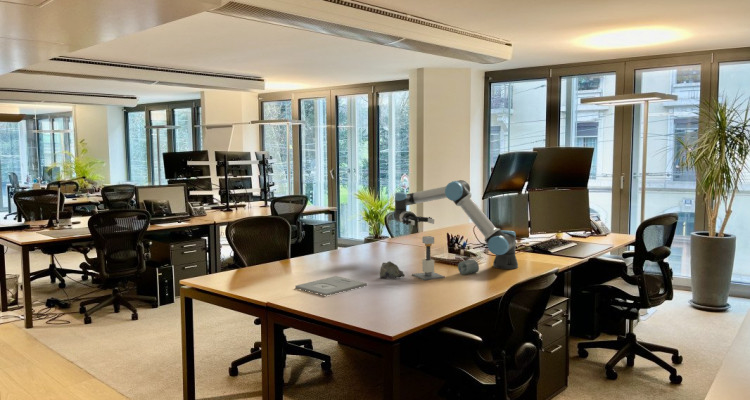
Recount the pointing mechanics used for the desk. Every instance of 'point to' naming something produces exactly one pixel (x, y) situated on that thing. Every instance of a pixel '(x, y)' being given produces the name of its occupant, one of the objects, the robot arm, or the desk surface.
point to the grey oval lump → (468, 267)
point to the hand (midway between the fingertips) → (424, 222)
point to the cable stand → (431, 275)
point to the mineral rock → (390, 271)
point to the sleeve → (427, 265)
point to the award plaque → (331, 285)
